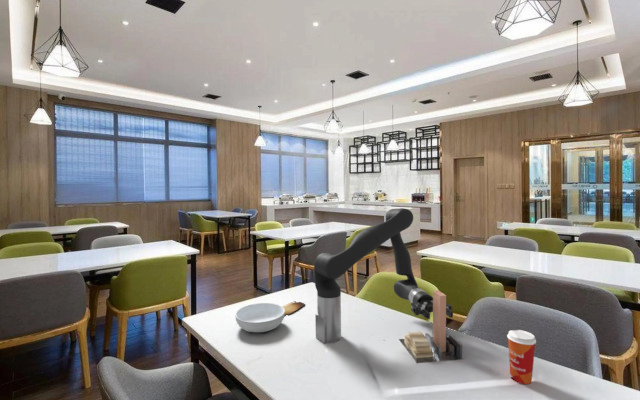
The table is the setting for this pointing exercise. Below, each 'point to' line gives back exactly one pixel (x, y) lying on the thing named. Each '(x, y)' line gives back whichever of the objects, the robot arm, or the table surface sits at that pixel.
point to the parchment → (292, 307)
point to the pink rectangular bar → (439, 319)
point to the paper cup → (521, 355)
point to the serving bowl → (260, 317)
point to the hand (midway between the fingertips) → (440, 315)
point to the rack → (440, 350)
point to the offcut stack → (418, 344)
